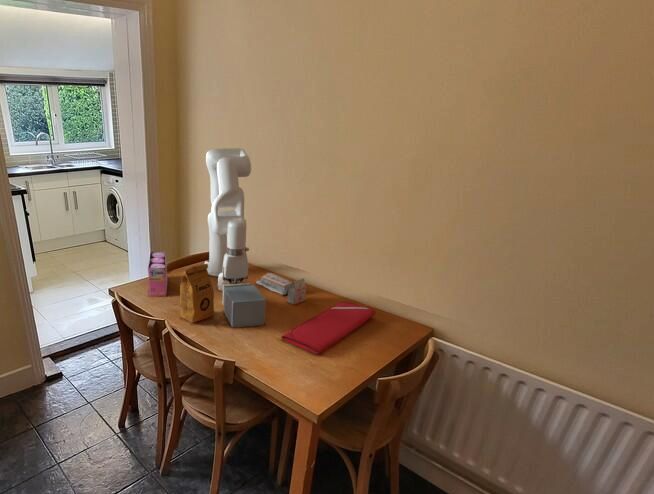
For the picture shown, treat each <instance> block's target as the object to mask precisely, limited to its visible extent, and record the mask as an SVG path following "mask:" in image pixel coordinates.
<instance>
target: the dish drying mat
mask: <svg viewBox="0 0 654 494" xmlns="http://www.w3.org/2000/svg"><path fill="white" fill-rule="evenodd" d="M376 313H377V311H376V310H374V309H373V308H369V307H367V306H364V305H361V304H358V303H355V302H349V301H348V302H347V301H341V302H338V303H336V304H333V306H331V307H329V308H328V309H326V310H324V311H322V312H320V313H318V314H317V315H315V316H313V317H311V318H310V319H307V320H306V321H304V322H302V323H300V324H298V325H296V326H294V327H293V328H291V329H290V331H288V332H286V333H284V334H283V335H281V339H282V341H284V342H286V343H288V344H290V345H292V346H295V347H298V348H300V349H303V350H305V351H307V352H309V353H311V354H314V355H320V354H321V353H322V352H324V351H325V350H327V349H329V348H331V346H333V345H334V344H336V343H337V342H340V341H341V340H342V339H343V338H345V337H346V336H348V335H349V334H350V333H352V332H354V331H355V330H356V329H358V328H359V327H361V326H362V325H364V323H366V322H367V321H369V320H370V319H371V318H372V317H373V316H374V315H376Z"/></svg>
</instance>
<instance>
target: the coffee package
mask: <svg viewBox="0 0 654 494" xmlns="http://www.w3.org/2000/svg"><path fill="white" fill-rule="evenodd" d="M207 269H208V264H207V263H206V264H204V263H203V264H199V265H193V266H191V267H189V268H185V269H184V272H183V274H182V277H181V280H180V286H179V297H180V299H179V300H180V302H179V303H180V304H179V305H180V318H181V319H183V320H186V321H187V322H189V323H193V324H194V323H197V322H199V321H202V320H206V319H208V318H211V317H214V314H215V303H214V300H215V292H214V285H213V283H212V280H211V278H210V275H209V274H208V271H207Z"/></svg>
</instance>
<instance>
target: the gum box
mask: <svg viewBox="0 0 654 494" xmlns="http://www.w3.org/2000/svg"><path fill="white" fill-rule="evenodd" d="M167 261H168V259H167V252H166V251H163V252H154V251H150V254H149V261H148V266H147V274H148V275H147V276H148V277H147V278H148V292H149V294H148V295H149V297H163V296H164V297H165V296H167V294H168V262H167Z"/></svg>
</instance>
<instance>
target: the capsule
mask: <svg viewBox="0 0 654 494" xmlns="http://www.w3.org/2000/svg"><path fill="white" fill-rule="evenodd" d="M222 278H223V273H220V274H219V276H218V277H217V290H218V291H221V292H223V285H228V284H231V283H230V282H229V281H224V280H223V279H222Z"/></svg>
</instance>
